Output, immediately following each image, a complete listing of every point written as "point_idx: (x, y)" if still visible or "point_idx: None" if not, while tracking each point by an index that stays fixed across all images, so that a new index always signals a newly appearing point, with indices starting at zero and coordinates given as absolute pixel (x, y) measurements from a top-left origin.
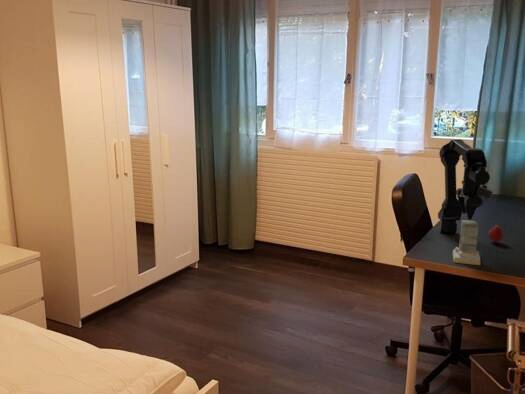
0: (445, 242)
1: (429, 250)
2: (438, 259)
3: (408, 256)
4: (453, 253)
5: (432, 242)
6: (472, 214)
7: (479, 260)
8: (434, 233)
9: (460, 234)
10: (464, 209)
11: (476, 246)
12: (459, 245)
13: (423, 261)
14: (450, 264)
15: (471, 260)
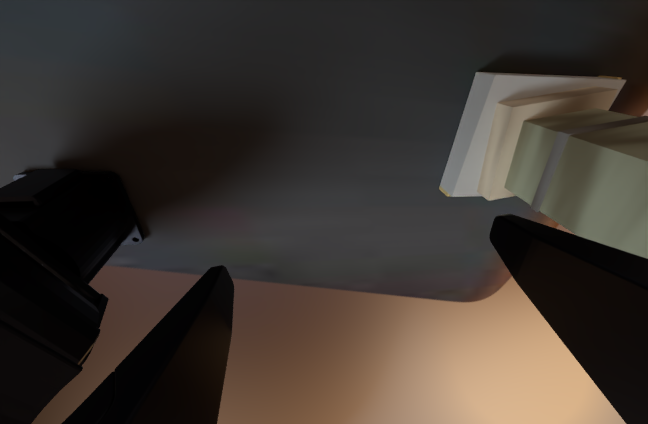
0: (287, 215)
1: (409, 261)
2: None
3: (469, 301)
4: None
5: (307, 258)
6: (605, 258)
7: (620, 84)
8: (160, 259)
9: (576, 232)
10: (218, 328)
11: (644, 117)
12: (522, 194)
13: None
14: None
15: None
